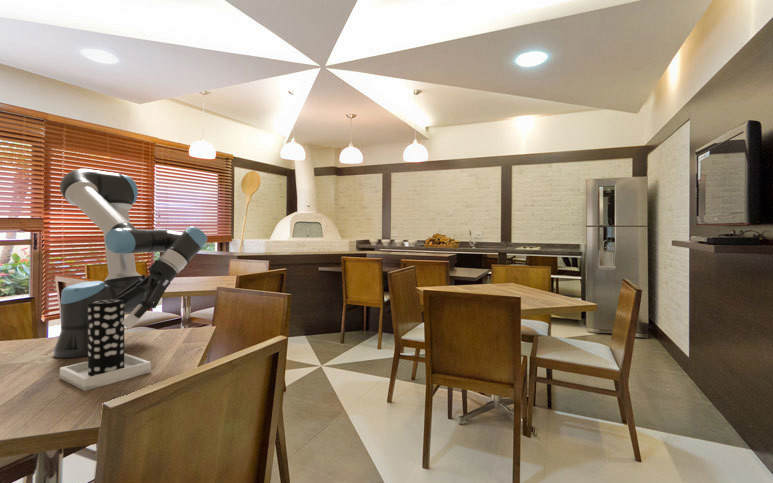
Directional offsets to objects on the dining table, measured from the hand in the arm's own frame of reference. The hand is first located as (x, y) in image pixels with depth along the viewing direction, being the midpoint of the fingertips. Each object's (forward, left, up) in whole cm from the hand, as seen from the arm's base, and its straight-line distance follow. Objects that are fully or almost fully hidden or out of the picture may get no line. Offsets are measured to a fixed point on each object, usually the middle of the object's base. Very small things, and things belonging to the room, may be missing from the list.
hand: (114, 323), depth 108 cm
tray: (-1, -2, -15) cm, 15 cm away
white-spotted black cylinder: (-1, -1, -14) cm, 14 cm away
